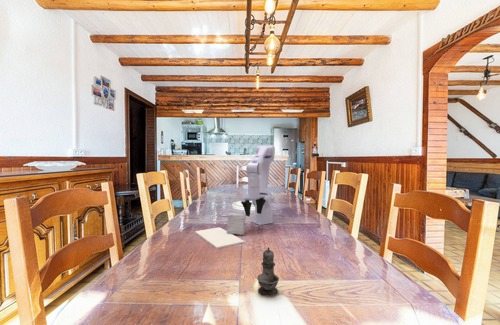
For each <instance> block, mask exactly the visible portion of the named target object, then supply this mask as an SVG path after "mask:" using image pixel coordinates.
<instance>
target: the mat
mask: <svg viewBox="0 0 500 325" xmlns="http://www.w3.org/2000/svg"><path fill="white" fill-rule="evenodd" d="M194 233H195V234H196V235H197V236H199V237H200V238H202V239H203V240H204V241H206V242H207V243H208V244H210V245H211V246H213V247H214V248H215V249H222V248H226V247H231V246H235V245H240V244H244V243H246V241H245V240H243V239H242V238H241V237H238V236H236V234H230V233H227V229H223V228H221V227H213V228H212V227H211V228H207V229H202V230H201V229H200V230H195V231H194Z"/></svg>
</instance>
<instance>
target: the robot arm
mask: <svg viewBox="0 0 500 325" xmlns="http://www.w3.org/2000/svg"><path fill="white" fill-rule="evenodd" d="M275 154H276V149H275V146H274V145H273V144H272V145H271V144H270V145H268V144H267V145H266V144H265V145H264V144H263V145H262V144H261V145H259V144H258V145H257V146H256V154H255V155H254V157H253V158H252V160H251V161H250V162H248V163H247V164H246V170H245V171H246V176H247V195H245V196H241V198H240V200H241V201H240V203H241V205H242V207H243V208H244V213H245V214H244V215H246V217H250V215H251V208H252V206H254V220H252V221H251V222H252V223H254V224H256V225H259V226H263V225H267V224H269V225H270V224H274V220H273V219H274V218H273V217H274V216H273V215H274V214H273V213H274V211H273V207H272V206H271V204H272V193H271V191H270V190H269V189H268V184H269V178H270V177H269V176H270V168H271V167H270V166H271V163H273V161H274V160H275Z"/></svg>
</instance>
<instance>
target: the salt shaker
mask: <svg viewBox="0 0 500 325" xmlns="http://www.w3.org/2000/svg"><path fill="white" fill-rule="evenodd" d="M274 257H275V256H274V251H272V250H270V247H267V248H266V250H264V251H263V253H262V262H261V266H262V272H261V273H259V274H258V275H257V278H256V279H257V281H258V284H259V288H257V289H258V290H257V292H258V294H260V296H263V297H267V298H268V297H269V298H271V297H275V296H276V295H277V294H278V292H279V290H278V288H277V285H278V283H279V281H280V277H279V276H278V275H277V274H276V273H275V268H274V267H275V266H276V263H275V261H274V259H275V258H274Z"/></svg>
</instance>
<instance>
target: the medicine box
mask: <svg viewBox="0 0 500 325" xmlns="http://www.w3.org/2000/svg"><path fill="white" fill-rule="evenodd" d="M246 218H247V216H246V214H242V213H241V214H239V213H232V212H231V213H229V214H228V215H227V226H226V231H227V233H230V234H233V235H241V236H244V234H245V229H246V228H245V227H246Z"/></svg>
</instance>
